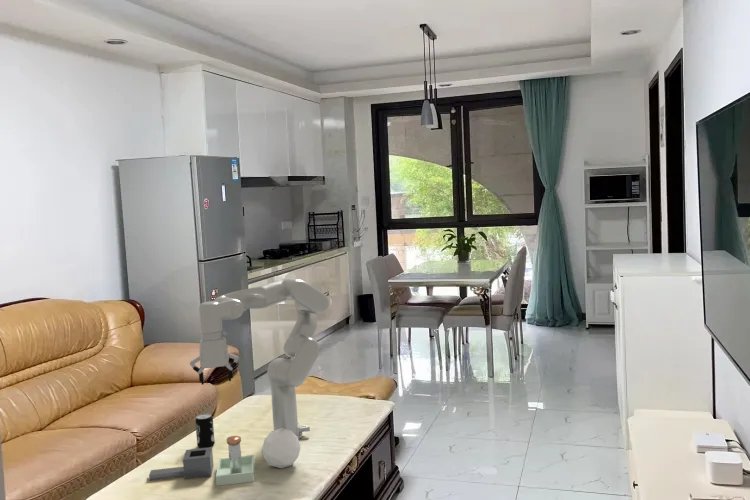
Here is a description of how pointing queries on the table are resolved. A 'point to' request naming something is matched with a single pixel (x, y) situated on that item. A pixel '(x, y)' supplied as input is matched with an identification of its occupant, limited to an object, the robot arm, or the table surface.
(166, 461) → the table surface
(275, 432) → the geodesic sphere
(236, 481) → the tray
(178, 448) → the table surface
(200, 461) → the hitch block
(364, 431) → the table surface
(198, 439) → the beverage can
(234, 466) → the pin
